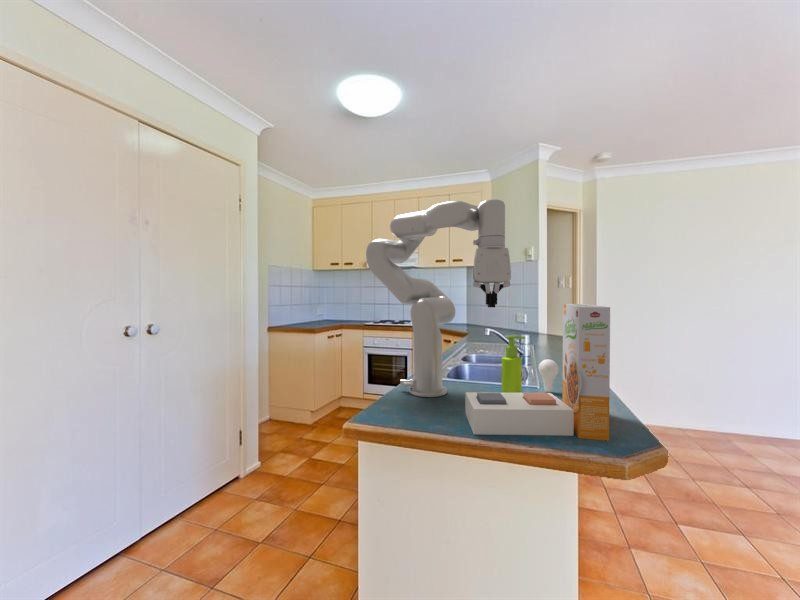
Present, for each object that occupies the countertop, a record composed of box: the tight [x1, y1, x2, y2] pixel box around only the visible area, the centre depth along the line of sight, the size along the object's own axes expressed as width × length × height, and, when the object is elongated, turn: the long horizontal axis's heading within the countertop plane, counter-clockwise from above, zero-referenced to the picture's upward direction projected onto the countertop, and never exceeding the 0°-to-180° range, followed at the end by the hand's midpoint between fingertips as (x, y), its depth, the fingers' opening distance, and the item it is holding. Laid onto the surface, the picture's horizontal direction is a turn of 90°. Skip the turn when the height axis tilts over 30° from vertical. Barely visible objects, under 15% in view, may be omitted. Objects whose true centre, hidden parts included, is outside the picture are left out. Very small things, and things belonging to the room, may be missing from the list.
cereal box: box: [561, 303, 611, 442], centre depth 91 cm, size 22×6×30 cm, turn 164°
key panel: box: [464, 391, 575, 437], centre depth 90 cm, size 23×14×6 cm, turn 88°
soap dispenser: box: [501, 334, 526, 393], centre depth 110 cm, size 6×7×20 cm
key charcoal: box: [477, 392, 506, 405], centre depth 90 cm, size 6×6×4 cm
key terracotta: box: [522, 392, 556, 405], centre depth 90 cm, size 6×6×4 cm
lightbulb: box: [538, 358, 560, 393], centre depth 118 cm, size 6×6×11 cm
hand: (491, 307), depth 104 cm, fingers closed
